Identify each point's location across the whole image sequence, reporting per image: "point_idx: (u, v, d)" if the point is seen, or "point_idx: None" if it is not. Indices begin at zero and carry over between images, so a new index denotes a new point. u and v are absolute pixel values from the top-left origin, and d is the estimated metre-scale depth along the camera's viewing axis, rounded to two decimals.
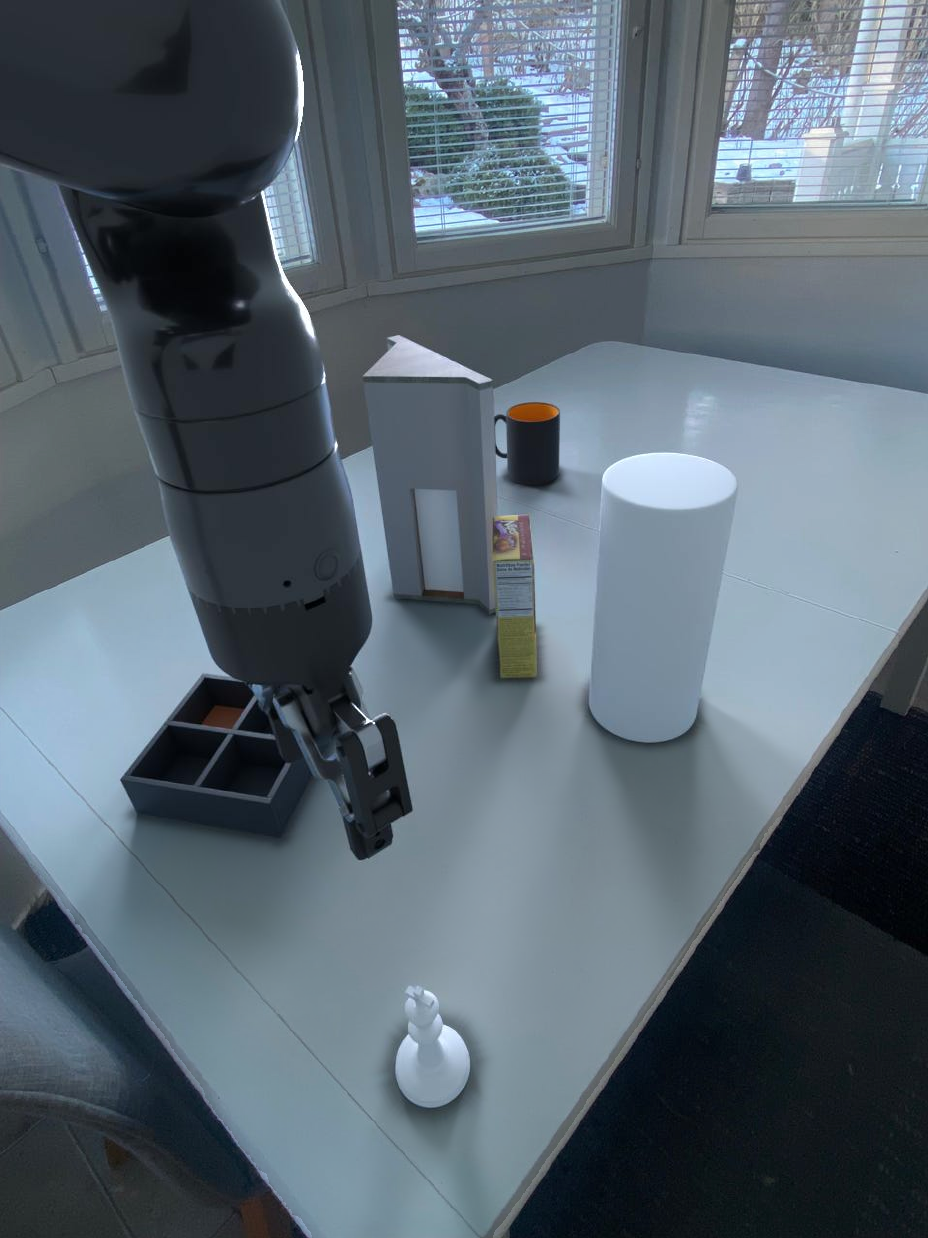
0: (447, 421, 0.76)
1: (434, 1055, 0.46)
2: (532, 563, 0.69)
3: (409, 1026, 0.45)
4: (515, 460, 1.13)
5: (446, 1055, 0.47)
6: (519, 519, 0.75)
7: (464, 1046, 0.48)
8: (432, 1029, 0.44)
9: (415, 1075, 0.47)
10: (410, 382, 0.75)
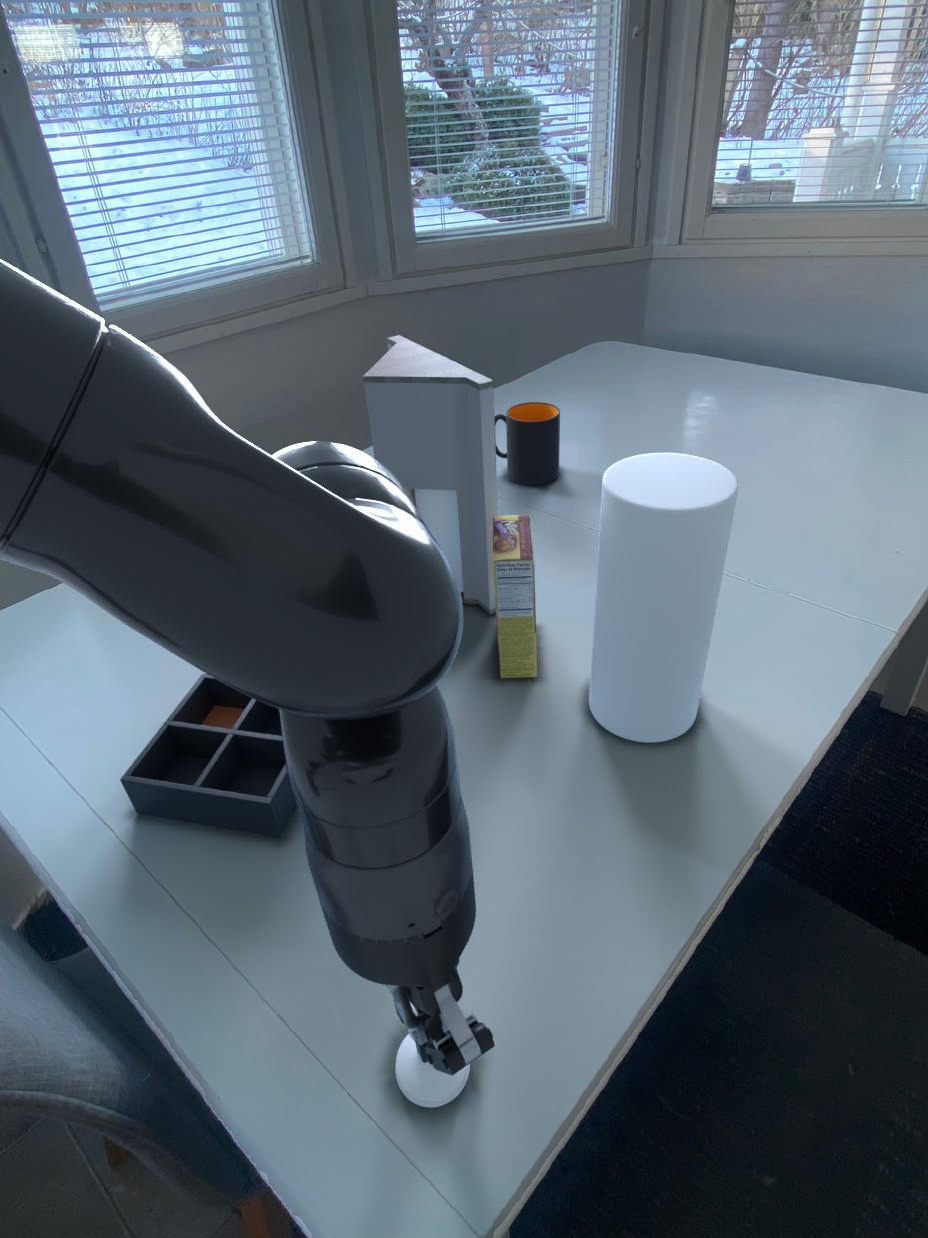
0: (447, 421, 0.76)
1: None
2: (532, 563, 0.69)
3: None
4: (515, 460, 1.13)
5: None
6: (519, 519, 0.75)
7: None
8: None
9: (415, 1075, 0.47)
10: (411, 382, 0.75)
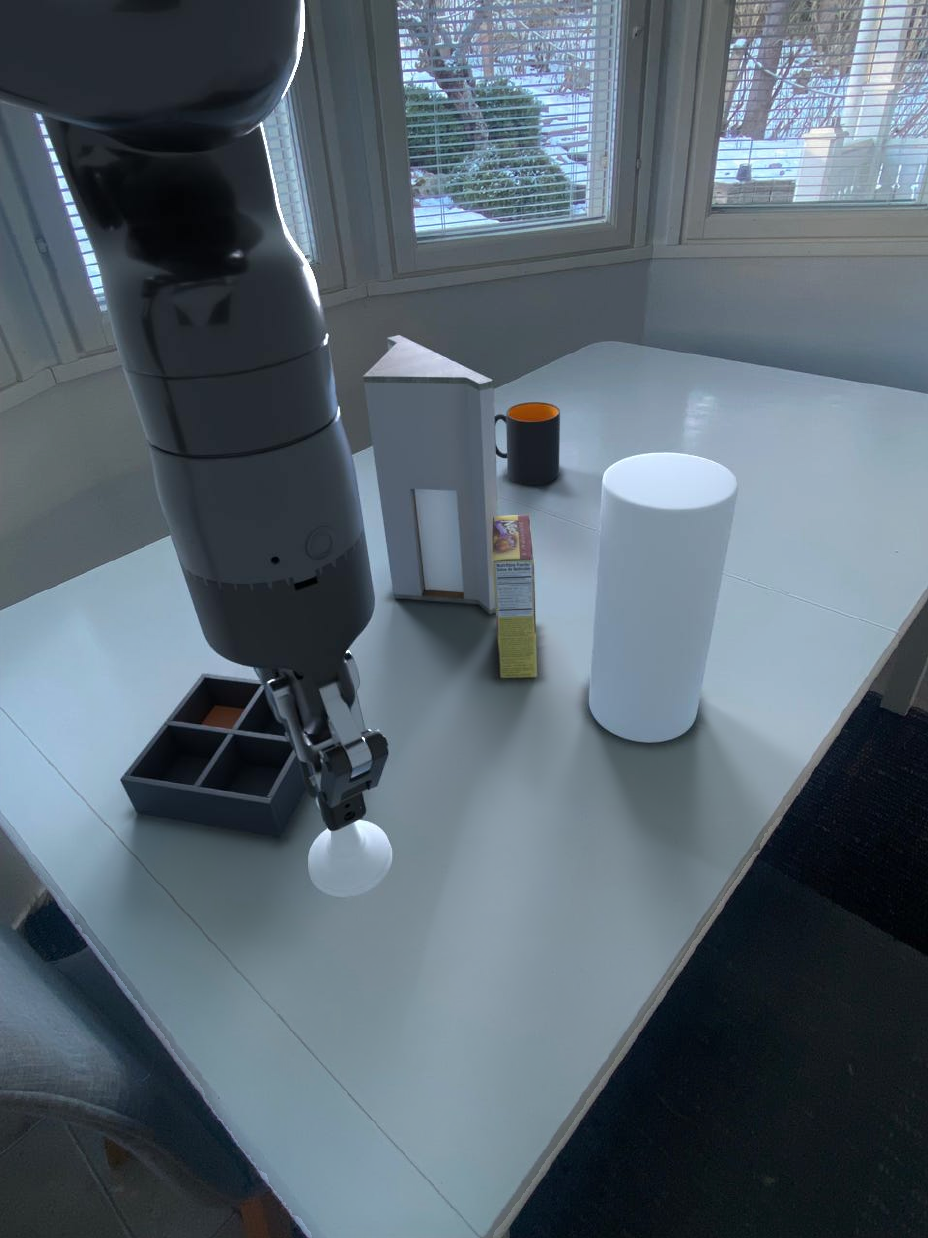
0: (447, 421, 0.76)
1: (348, 836, 0.41)
2: (532, 563, 0.69)
3: None
4: (515, 460, 1.13)
5: (363, 842, 0.42)
6: (519, 519, 0.75)
7: (386, 839, 0.43)
8: None
9: (327, 863, 0.41)
10: (411, 382, 0.75)
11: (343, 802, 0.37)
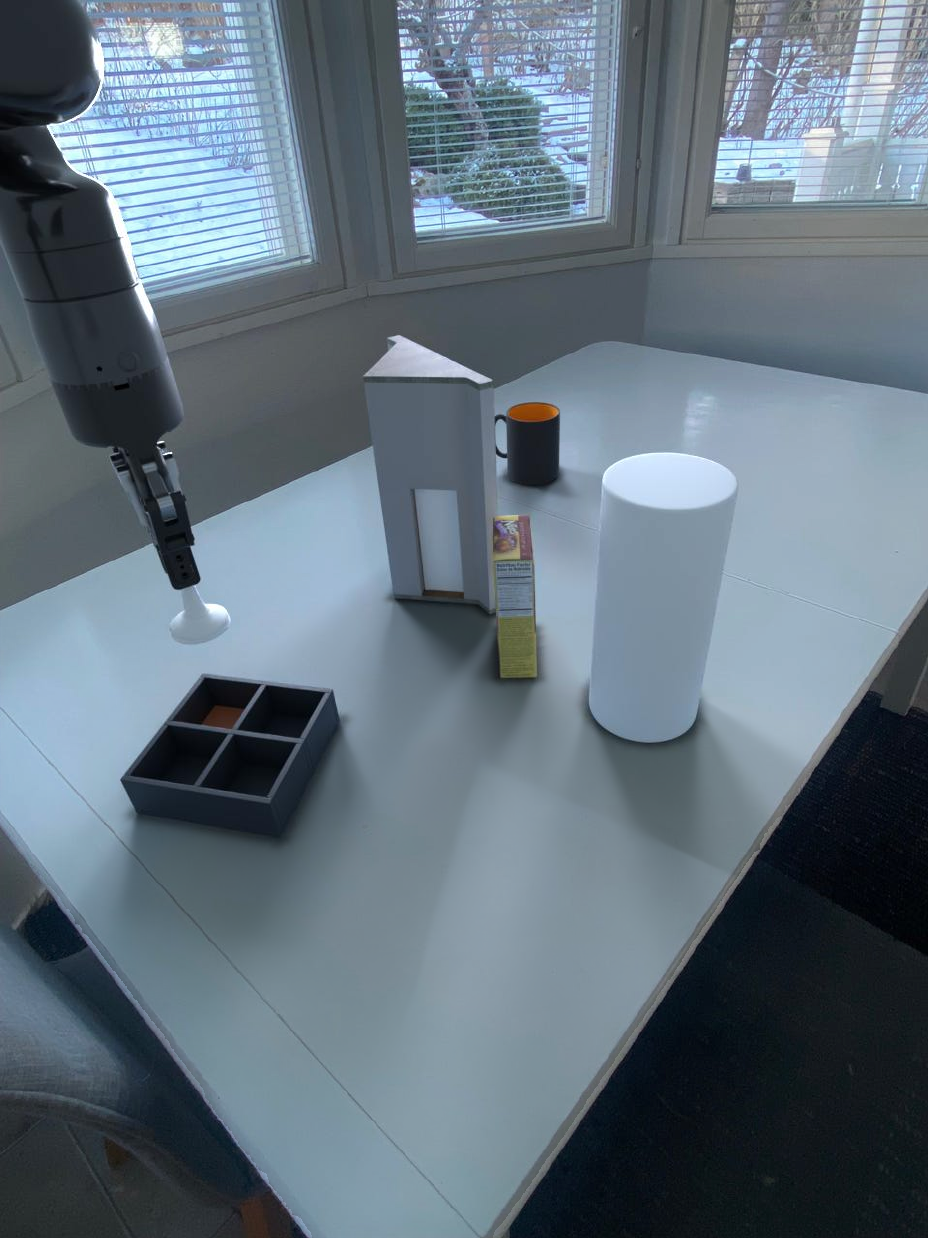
0: (447, 421, 0.76)
1: (194, 602, 0.60)
2: (532, 563, 0.69)
3: None
4: (515, 460, 1.13)
5: (207, 610, 0.61)
6: (519, 519, 0.75)
7: (226, 612, 0.62)
8: None
9: (182, 624, 0.60)
10: (411, 382, 0.75)
11: (178, 563, 0.56)
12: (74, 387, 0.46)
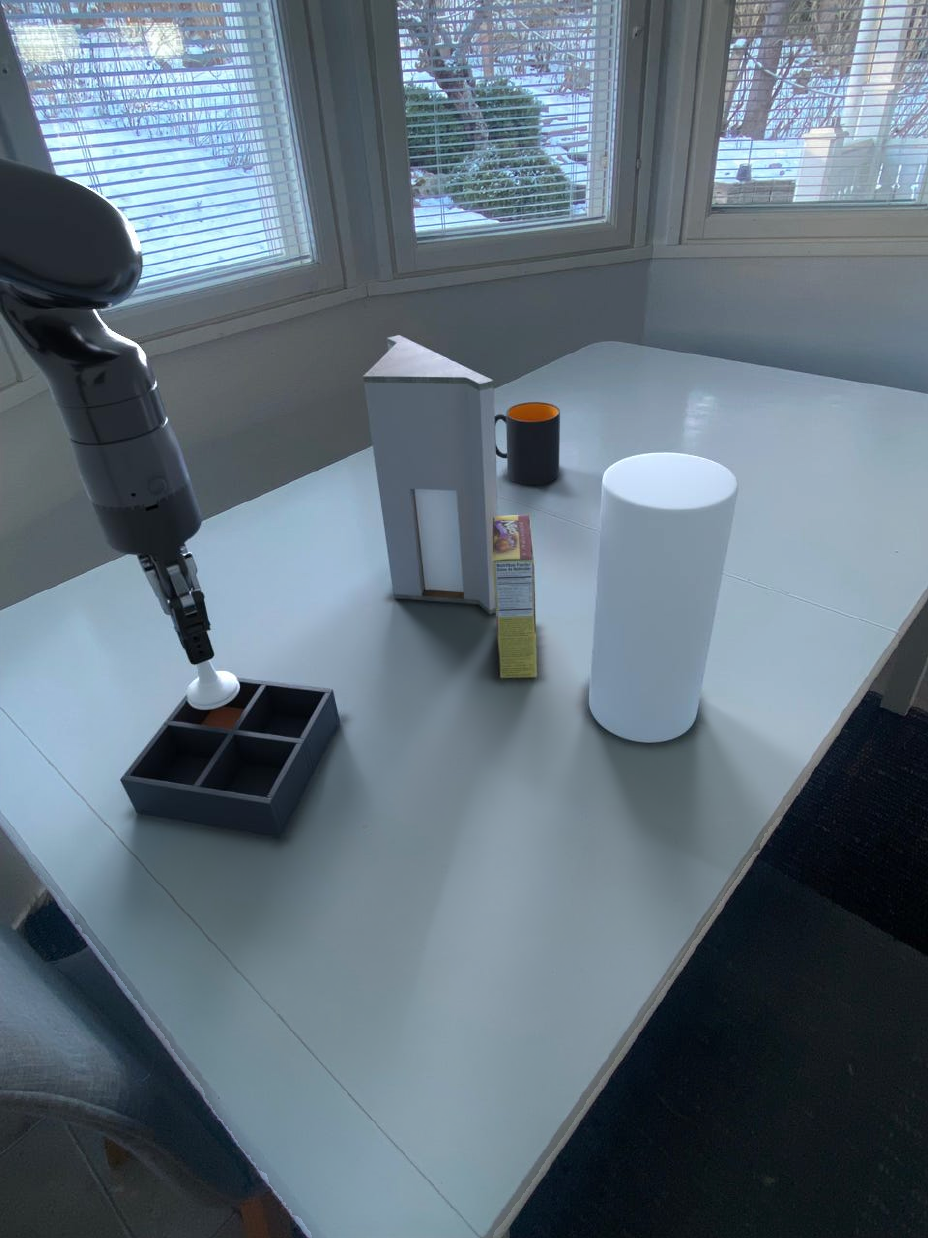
0: (447, 421, 0.76)
1: (208, 672, 0.68)
2: (532, 563, 0.69)
3: None
4: (515, 460, 1.13)
5: (219, 679, 0.69)
6: (519, 519, 0.75)
7: (235, 679, 0.70)
8: None
9: (197, 691, 0.69)
10: (411, 382, 0.75)
11: (196, 643, 0.64)
12: (112, 509, 0.54)
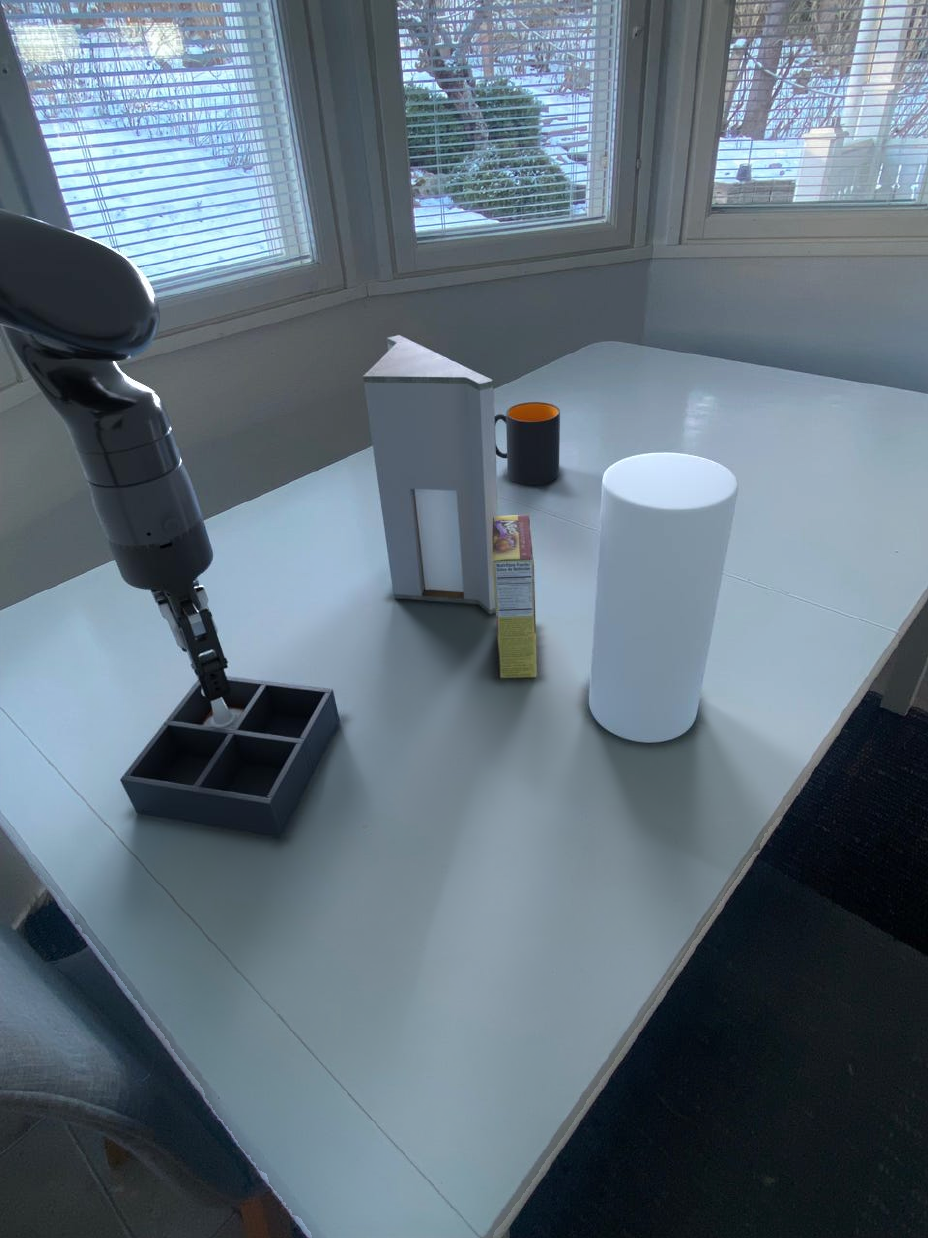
0: (447, 421, 0.76)
1: (222, 713, 0.71)
2: (532, 563, 0.69)
3: None
4: (515, 460, 1.13)
5: (233, 718, 0.72)
6: (519, 519, 0.75)
7: None
8: None
9: None
10: (411, 382, 0.75)
11: (212, 680, 0.63)
12: (127, 547, 0.57)
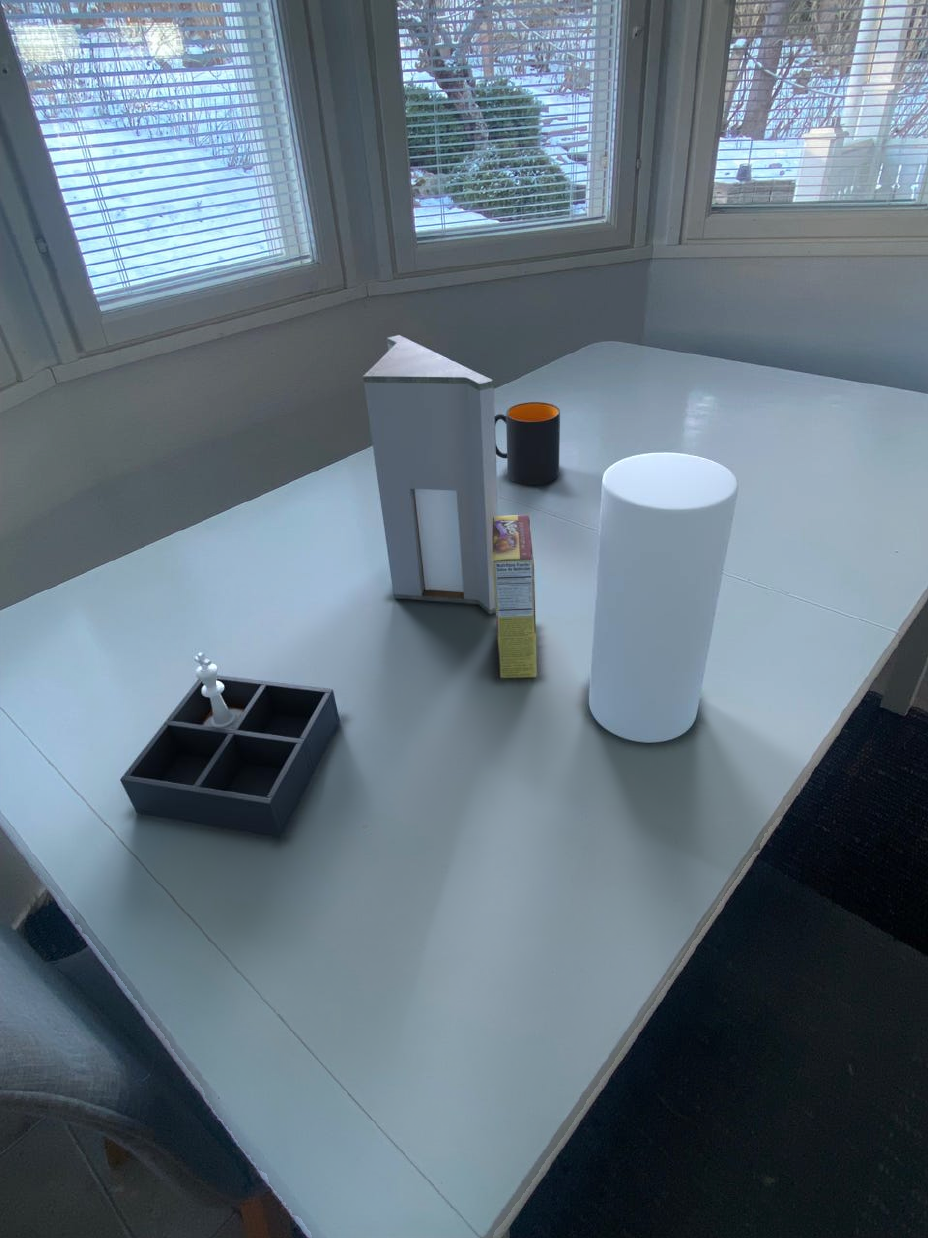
0: (447, 421, 0.76)
1: (222, 713, 0.71)
2: (532, 563, 0.69)
3: (202, 689, 0.70)
4: (515, 460, 1.13)
5: (233, 718, 0.72)
6: (519, 519, 0.75)
7: None
8: (215, 689, 0.70)
9: None
10: (411, 382, 0.75)
11: None
12: None
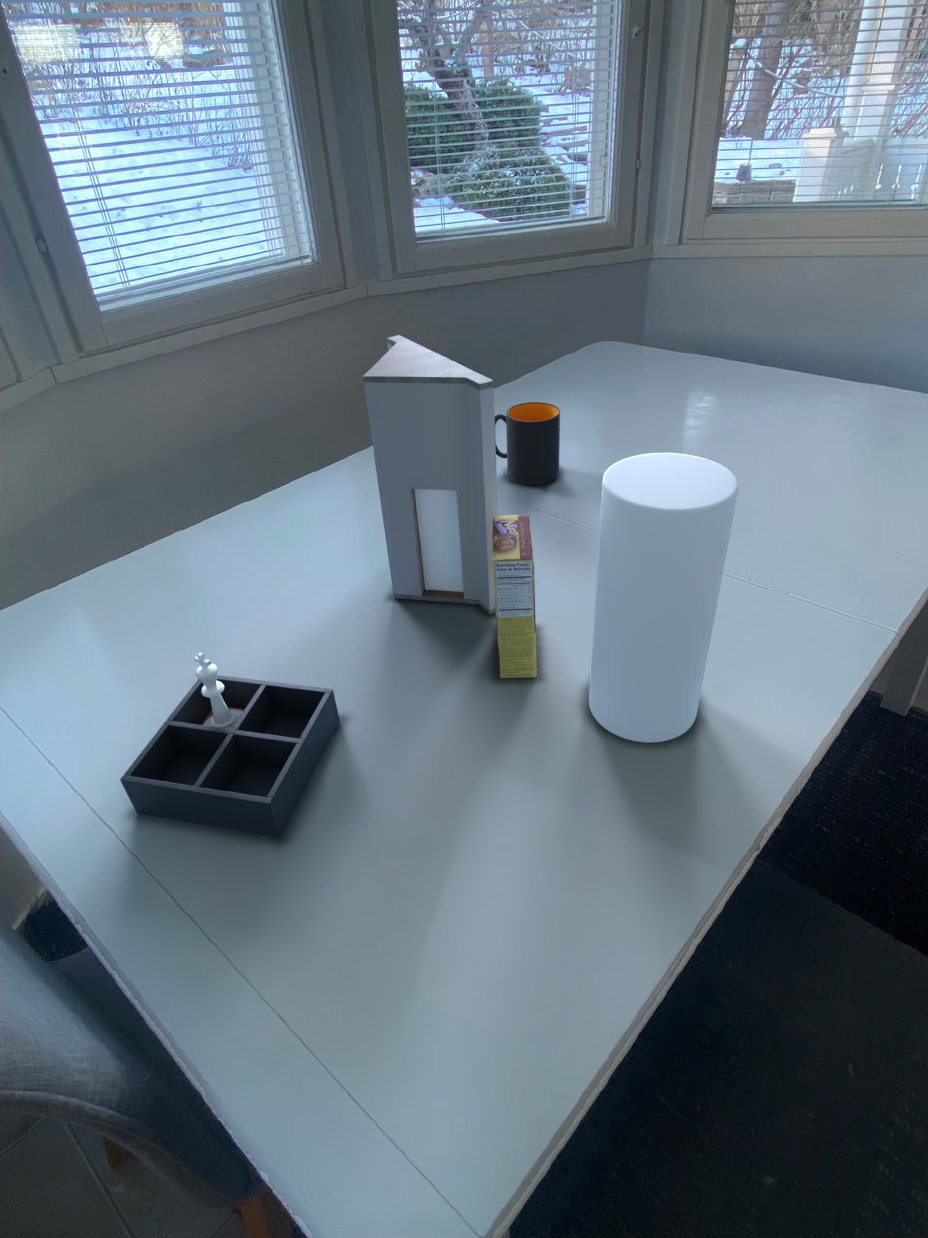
0: (447, 421, 0.76)
1: (222, 713, 0.71)
2: (532, 563, 0.69)
3: (202, 689, 0.70)
4: (515, 460, 1.13)
5: (233, 718, 0.72)
6: (519, 519, 0.75)
7: None
8: (215, 689, 0.70)
9: None
10: (411, 382, 0.75)
11: None
12: None
